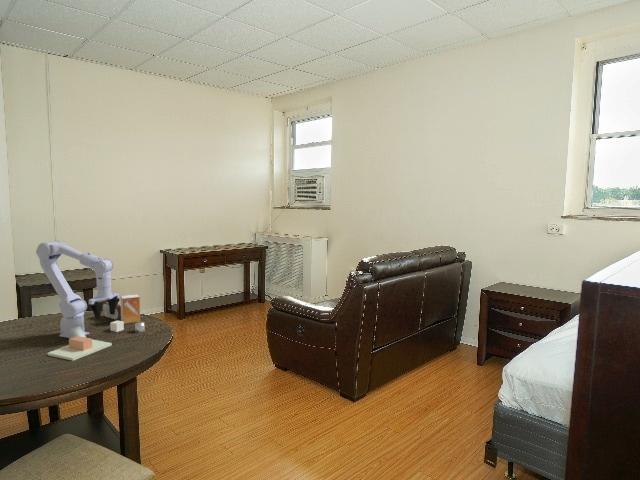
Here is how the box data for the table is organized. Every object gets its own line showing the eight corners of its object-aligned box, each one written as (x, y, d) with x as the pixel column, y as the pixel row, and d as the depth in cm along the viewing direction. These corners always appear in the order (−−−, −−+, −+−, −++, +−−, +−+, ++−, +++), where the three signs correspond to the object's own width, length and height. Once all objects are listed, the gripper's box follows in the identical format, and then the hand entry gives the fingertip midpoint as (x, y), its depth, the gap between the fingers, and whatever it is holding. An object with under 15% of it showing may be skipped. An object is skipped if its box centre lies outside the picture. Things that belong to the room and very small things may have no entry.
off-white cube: (110, 331, 194) (110, 322, 194) (117, 328, 198) (117, 320, 198) (116, 332, 193) (116, 323, 192) (123, 329, 196) (123, 321, 196)
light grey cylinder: (133, 332, 193) (133, 323, 193) (140, 329, 197) (139, 321, 196) (140, 333, 192) (140, 324, 191) (146, 330, 195) (146, 322, 195)
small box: (123, 324, 204) (122, 298, 203) (120, 321, 209) (120, 295, 208) (140, 321, 209) (139, 296, 207) (138, 318, 214) (137, 293, 213)
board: (47, 355, 164) (47, 352, 164) (87, 340, 180) (87, 338, 180) (73, 360, 159) (73, 358, 159) (111, 345, 176) (111, 343, 175)
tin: (123, 320, 211) (123, 304, 210) (118, 321, 208) (117, 305, 207) (107, 315, 219) (106, 299, 218) (101, 316, 216) (100, 301, 215)
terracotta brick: (69, 348, 169) (68, 339, 169) (78, 344, 173) (77, 336, 172) (83, 350, 166) (83, 341, 166) (92, 347, 170) (91, 338, 170)
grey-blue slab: (68, 330, 180) (71, 328, 179) (77, 327, 183) (79, 325, 183) (75, 342, 179) (77, 339, 178) (83, 339, 182) (86, 336, 182)
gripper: (96, 290, 175) (98, 321, 177) (123, 284, 189) (124, 313, 190) (84, 289, 178) (85, 320, 179) (112, 282, 191) (113, 311, 193)
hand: (105, 316), depth 185 cm, fingers open, 7 cm apart
